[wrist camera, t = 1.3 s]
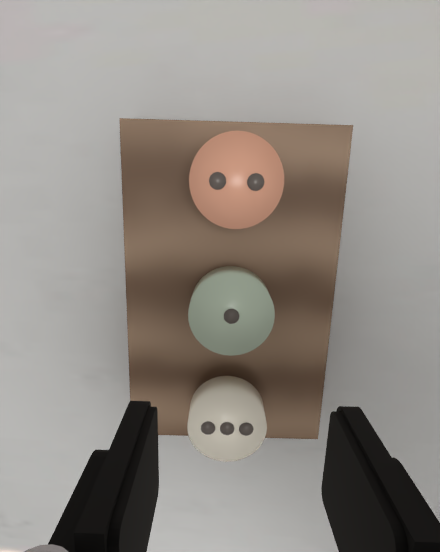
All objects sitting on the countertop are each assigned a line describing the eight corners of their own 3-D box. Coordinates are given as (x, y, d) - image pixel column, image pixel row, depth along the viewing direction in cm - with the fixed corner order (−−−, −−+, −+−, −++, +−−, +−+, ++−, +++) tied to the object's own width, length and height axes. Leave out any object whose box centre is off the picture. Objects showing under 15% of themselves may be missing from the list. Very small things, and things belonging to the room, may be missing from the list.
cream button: (261, 440, 25) (264, 463, 23) (189, 438, 25) (187, 461, 23) (265, 376, 24) (269, 394, 22) (190, 374, 24) (187, 392, 22)
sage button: (267, 342, 23) (272, 357, 21) (190, 340, 23) (187, 355, 21) (272, 267, 22) (277, 275, 20) (191, 264, 22) (188, 273, 20)
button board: (308, 414, 30) (317, 439, 27) (140, 409, 29) (131, 434, 27) (337, 132, 24) (352, 125, 21) (131, 126, 24) (119, 118, 21)
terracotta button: (275, 226, 21) (281, 230, 19) (191, 224, 21) (188, 228, 19) (281, 137, 20) (288, 131, 18) (192, 134, 20) (189, 128, 18)
